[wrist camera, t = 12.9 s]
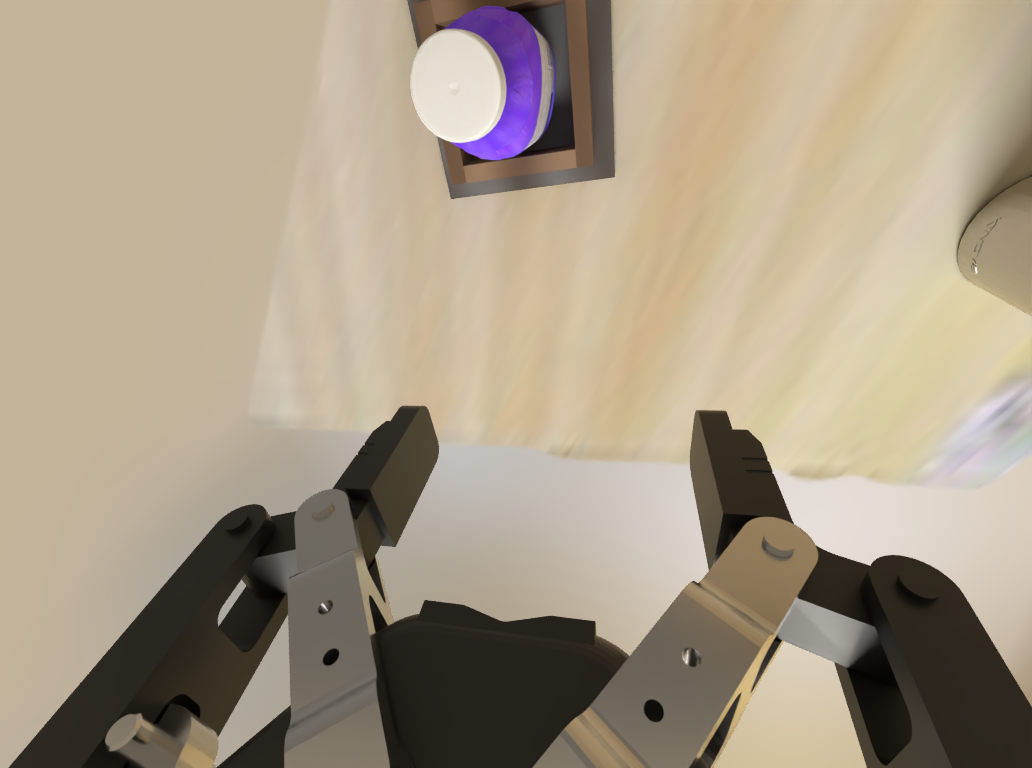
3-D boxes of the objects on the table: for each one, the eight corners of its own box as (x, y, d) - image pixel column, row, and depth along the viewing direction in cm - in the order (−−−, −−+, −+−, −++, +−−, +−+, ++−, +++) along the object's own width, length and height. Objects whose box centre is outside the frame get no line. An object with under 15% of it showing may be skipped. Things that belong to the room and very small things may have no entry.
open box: (608, -60, 28) (609, -82, 24) (614, 174, 36) (615, 185, 32) (410, -10, 31) (383, -23, 27) (454, 196, 39) (438, 208, 35)
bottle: (482, 24, 31) (378, -26, 17) (562, 27, 30) (524, -21, 16) (482, 140, 35) (398, 179, 21) (552, 146, 34) (514, 190, 20)
